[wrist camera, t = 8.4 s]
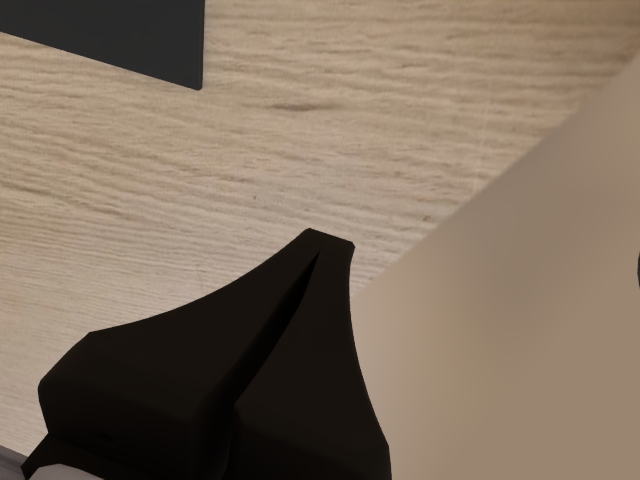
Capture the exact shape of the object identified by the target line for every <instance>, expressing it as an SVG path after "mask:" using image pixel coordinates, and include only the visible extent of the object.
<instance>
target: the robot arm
mask: <svg viewBox="0 0 640 480" xmlns="http://www.w3.org/2000/svg"><path fill="white" fill-rule="evenodd" d="M354 249H355V246H354V244H353V242H351V241H348V240H345V239H341V238H338V237H335V236H332V235H329V234H326V233H323V232H320V231H317V230H314V229H311V228H308V229H306V230H304V231H303V232H302V233H301V234H300V235H298V236H297V237H296V238H295V239H294V240H293V241H291V242H290V243H289V244H288V245H286V246H285V247H284V248H282V249H281V250H280V251H279V252H277V253H276V254H274V255H273V256H272V257H270V258H269V259H267V260H266V261H265V262H263V263H262V264H260V265H259V266H257V267H256V268H254V269H253V270H251V271H250V272H248V273H246V274H245V275H243V276H242V277H240V278H238V279H237V280H235V281H233V282H231V283H230V284H228V285H226V286H224V287H222V288H220V289H218V290H216V291H214V292H212V293H210V294H208V295H206V296H204V297H202V298H200V299H197V300H195V301H193V302H190V303H188V304H186V305H183V306H181V307H178V308H176V309H173V310H171V311H168V312H165V313H162V314H158V315H155V316H152V317H149V318H146V319H143V320H139V321H136V322H132V323H128V324H124V325H120V326H115V327H111V328H107V329H102V330H98V331H93V332H89V333H88V334H87V335H86V336H85V337H84V338H82V339H81V340H80V341H79V342H78V343H76V344H75V345H74V346H73V347H72V348H71V349H70V350H69V351H68V352H67V353H66V354H65V355H64V356H63V357H62V358H61V359H60V360H59V361H58V362H57V363H56V364H55V366H54V367H53V368H52V369H51V370H50V371H49V372H48V373H47V374H46V375H45V376H44V377H43V378H42V379H41V381H40V383H39V386H38V396H39V403H40V406H41V410H42V413H43V416H44V420H45V423H46V427H47V430H48V434H47V435H46V436H45V438H44V439H43V440H42V441H41V442H40V444H39V445H38V446H37V447H36V448H35V450H34V451H33V452H32V453H31V454H30V456H29V457H27V456H25V455H23V454H20V453H18V452H15V451H13V450H11V449H8V448H6V447H4V446H1V445H0V480H392V474H391V462H390V453H389V445H388V443H387V441H386V439H385V436H384V434H383V432H382V430H381V427H380V425H379V423H378V420H377V418H376V415H375V412H374V410H373V407H372V404H371V401H370V399H369V396H368V392H367V389H366V386H365V382H364V379H363V376H362V372H361V369H360V365H359V361H358V357H357V352H356V348H355V342H354V336H353V330H352V322H351V313H350V297H349V276H350V265H351V260H352V257H353V253H354Z"/></svg>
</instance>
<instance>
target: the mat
mask: <svg viewBox="0 0 640 480" xmlns="http://www.w3.org/2000/svg"><path fill="white" fill-rule="evenodd" d="M204 9H205V0H0V32H3V33H7V34H10V35H13V36H17V37H20V38H23V39H27V40H30V41H34V42H37V43H40V44H44V45H47V46H50V47H54V48H57V49H60V50H64V51H67V52H70V53H74V54H77V55H80V56H84V57H87V58H91V59H94V60H97V61H101V62H104V63H107V64H111V65H114V66H117V67H121V68H124V69H127V70H131V71H134V72H137V73H141V74H144V75H147V76H151V77H154V78H158V79H161V80H164V81H168V82H171V83H174V84H178V85H181V86H184V87H188V88H191V89H194V90H198V91H199V90H200V89H202V79H203V44H204Z"/></svg>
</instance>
